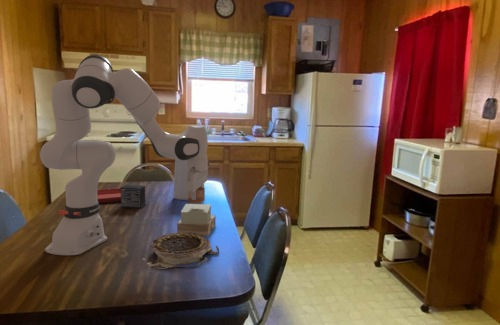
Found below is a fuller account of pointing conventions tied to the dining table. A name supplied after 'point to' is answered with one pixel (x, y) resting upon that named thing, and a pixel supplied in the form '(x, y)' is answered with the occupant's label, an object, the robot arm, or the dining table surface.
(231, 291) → the dining table surface
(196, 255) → the pie
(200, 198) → the terracotta cube
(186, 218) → the upper slab
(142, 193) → the small box
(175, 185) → the plastic bottle
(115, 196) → the plant saucer
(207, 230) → the lower slab
